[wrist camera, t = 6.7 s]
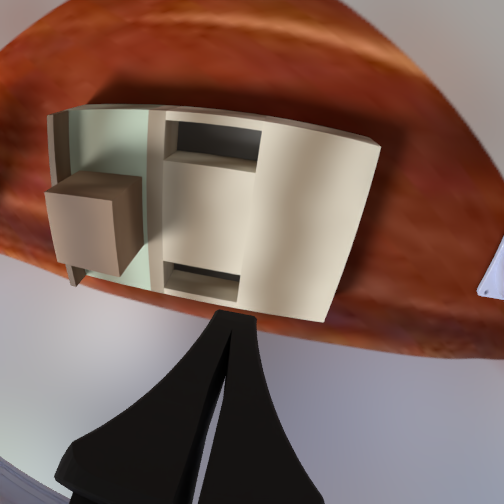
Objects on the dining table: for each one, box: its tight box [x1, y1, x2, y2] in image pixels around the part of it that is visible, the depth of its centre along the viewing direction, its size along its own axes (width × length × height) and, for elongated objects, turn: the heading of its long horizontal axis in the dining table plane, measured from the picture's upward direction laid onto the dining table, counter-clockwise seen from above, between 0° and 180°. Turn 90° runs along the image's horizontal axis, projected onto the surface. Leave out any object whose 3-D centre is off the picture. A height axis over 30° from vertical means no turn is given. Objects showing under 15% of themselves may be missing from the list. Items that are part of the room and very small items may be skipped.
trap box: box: [47, 104, 381, 322], centre depth 18 cm, size 18×12×4 cm, turn 83°
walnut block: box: [45, 170, 144, 277], centre depth 16 cm, size 4×4×4 cm
